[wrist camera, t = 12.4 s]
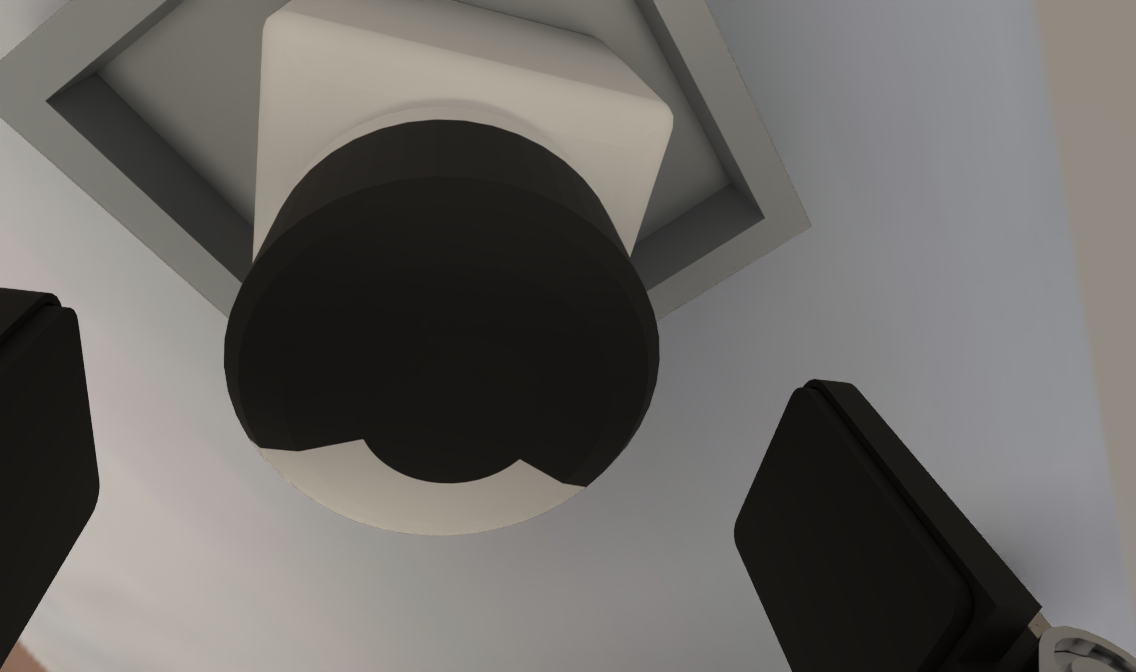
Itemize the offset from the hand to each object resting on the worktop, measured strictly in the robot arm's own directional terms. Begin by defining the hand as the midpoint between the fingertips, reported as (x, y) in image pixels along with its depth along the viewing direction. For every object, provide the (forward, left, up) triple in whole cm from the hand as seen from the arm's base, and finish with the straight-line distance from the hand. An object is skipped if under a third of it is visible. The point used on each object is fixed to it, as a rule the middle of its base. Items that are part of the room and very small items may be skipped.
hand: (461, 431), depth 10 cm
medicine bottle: (0, 0, -12) cm, 12 cm away
